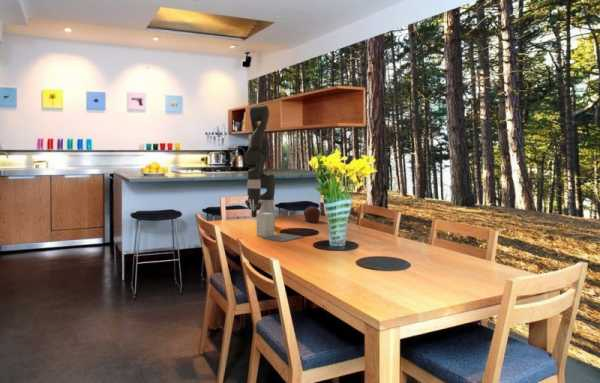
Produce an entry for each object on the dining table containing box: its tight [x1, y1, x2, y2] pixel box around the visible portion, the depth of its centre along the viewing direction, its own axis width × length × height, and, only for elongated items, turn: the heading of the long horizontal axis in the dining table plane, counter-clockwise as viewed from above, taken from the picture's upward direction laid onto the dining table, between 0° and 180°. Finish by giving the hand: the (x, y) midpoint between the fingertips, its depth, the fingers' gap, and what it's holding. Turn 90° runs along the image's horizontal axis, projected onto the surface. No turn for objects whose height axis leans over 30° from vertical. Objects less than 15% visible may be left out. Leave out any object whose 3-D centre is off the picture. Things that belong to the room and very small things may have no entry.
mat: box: [262, 232, 304, 243], centre depth 269 cm, size 17×15×1 cm
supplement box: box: [256, 212, 275, 238], centre depth 275 cm, size 7×7×13 cm
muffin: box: [303, 206, 321, 224], centre depth 326 cm, size 12×11×10 cm
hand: (254, 217), depth 280 cm, fingers closed
